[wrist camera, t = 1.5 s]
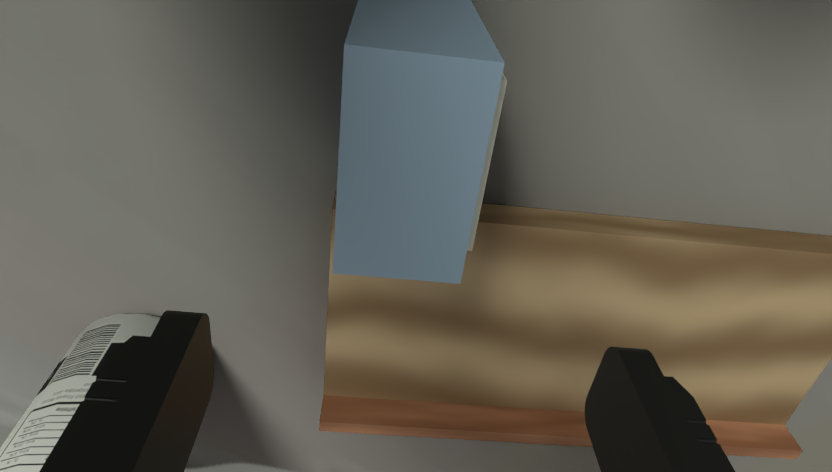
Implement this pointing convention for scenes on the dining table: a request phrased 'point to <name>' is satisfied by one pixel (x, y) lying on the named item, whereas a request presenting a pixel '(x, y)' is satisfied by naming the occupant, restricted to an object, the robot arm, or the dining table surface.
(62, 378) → the supplement can
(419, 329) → the wooden plank
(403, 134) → the carton
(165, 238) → the dining table surface
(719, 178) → the dining table surface
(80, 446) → the robot arm
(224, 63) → the dining table surface
